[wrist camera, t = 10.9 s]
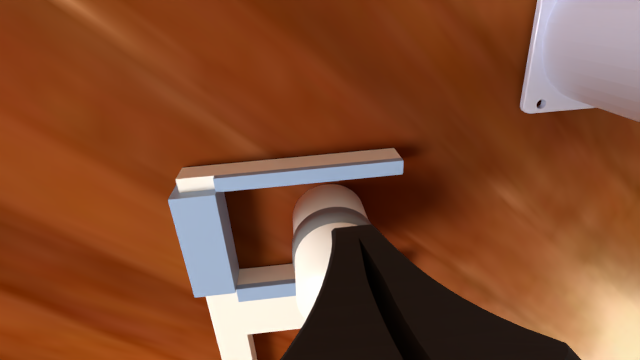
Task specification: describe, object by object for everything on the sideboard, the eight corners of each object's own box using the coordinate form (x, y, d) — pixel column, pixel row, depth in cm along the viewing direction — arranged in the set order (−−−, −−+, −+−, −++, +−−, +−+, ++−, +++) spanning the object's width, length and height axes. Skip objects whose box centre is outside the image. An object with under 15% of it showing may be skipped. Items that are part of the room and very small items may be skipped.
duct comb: (393, 147, 22) (405, 162, 20) (389, 371, 30) (396, 398, 28) (175, 168, 21) (163, 185, 19) (231, 391, 29) (228, 419, 27)
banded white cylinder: (375, 191, 23) (410, 264, 17) (352, 252, 25) (375, 338, 18) (302, 175, 22) (309, 245, 16) (283, 239, 24) (283, 325, 18)
